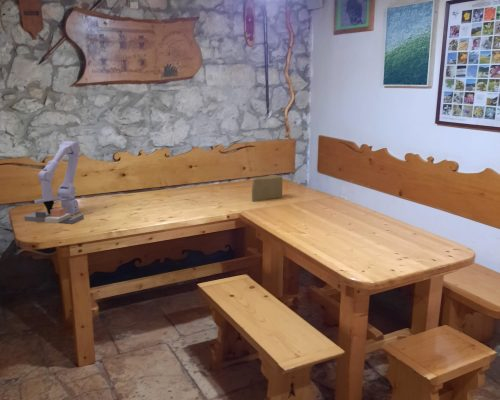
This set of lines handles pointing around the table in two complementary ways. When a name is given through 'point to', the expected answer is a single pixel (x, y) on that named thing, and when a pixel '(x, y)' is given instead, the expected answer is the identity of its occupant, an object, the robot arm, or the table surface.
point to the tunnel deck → (53, 218)
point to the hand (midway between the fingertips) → (49, 213)
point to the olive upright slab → (267, 188)
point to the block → (58, 211)
